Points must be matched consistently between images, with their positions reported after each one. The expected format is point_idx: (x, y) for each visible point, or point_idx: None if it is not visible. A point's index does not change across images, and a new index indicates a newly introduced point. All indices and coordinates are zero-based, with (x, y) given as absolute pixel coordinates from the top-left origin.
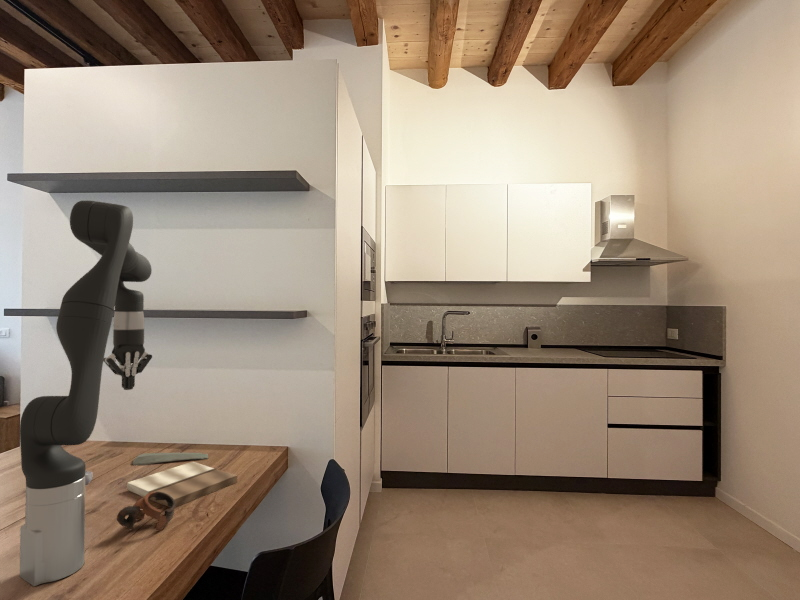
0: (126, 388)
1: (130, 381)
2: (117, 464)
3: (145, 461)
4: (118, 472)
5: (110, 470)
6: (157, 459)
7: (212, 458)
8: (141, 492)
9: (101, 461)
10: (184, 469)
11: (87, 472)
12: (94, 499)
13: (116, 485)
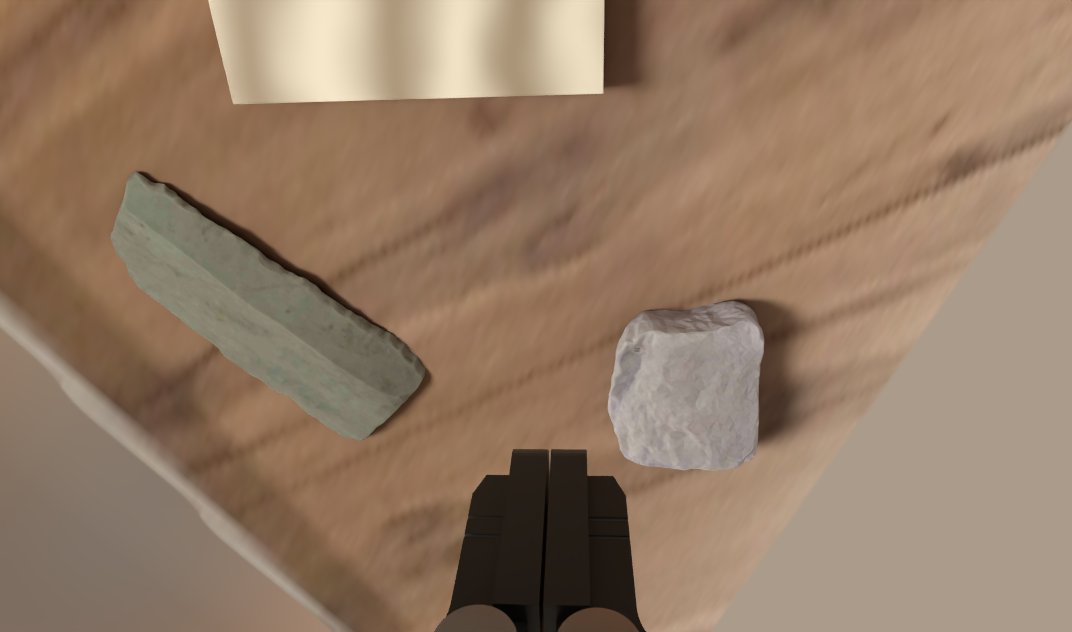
0: (587, 478)
1: (542, 533)
2: (462, 425)
3: (381, 350)
4: (505, 339)
5: (513, 385)
6: (335, 324)
7: (114, 157)
8: None
9: None
10: (317, 22)
11: (630, 366)
12: (734, 115)
13: (589, 199)
